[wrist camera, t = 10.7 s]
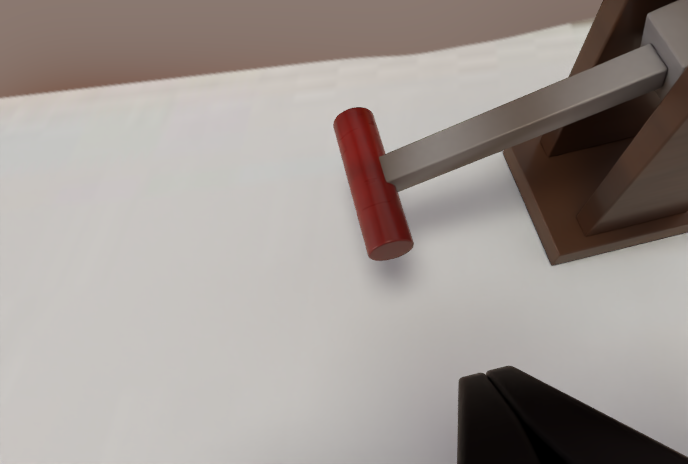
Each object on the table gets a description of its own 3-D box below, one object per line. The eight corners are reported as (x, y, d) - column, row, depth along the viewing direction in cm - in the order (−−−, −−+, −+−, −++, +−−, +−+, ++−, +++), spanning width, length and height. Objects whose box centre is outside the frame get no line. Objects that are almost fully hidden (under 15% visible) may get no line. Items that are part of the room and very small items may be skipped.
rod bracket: (551, 266, 22) (673, 113, 12) (502, 152, 25) (572, -48, 15) (707, 227, 22) (948, 46, 13) (642, 118, 25) (802, -103, 15)
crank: (380, 268, 18) (357, 248, 16) (346, 143, 21) (321, 112, 18) (797, 118, 15) (836, 69, 13) (700, -11, 17) (719, -70, 15)
